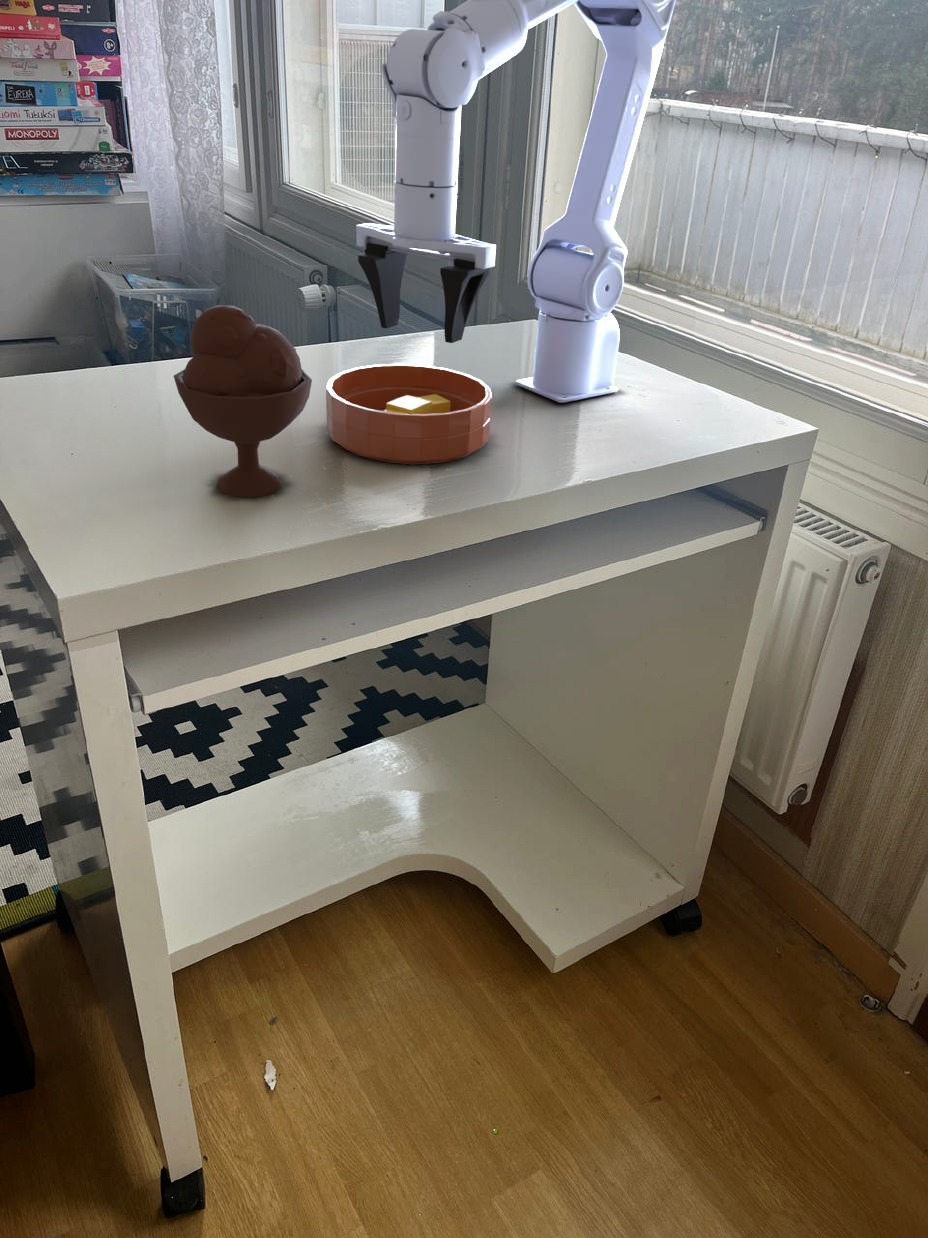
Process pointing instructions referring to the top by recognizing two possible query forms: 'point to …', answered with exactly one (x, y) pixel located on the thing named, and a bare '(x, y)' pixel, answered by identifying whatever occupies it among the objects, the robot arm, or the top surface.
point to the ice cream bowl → (242, 390)
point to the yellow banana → (419, 405)
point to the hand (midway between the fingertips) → (421, 333)
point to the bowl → (407, 436)
